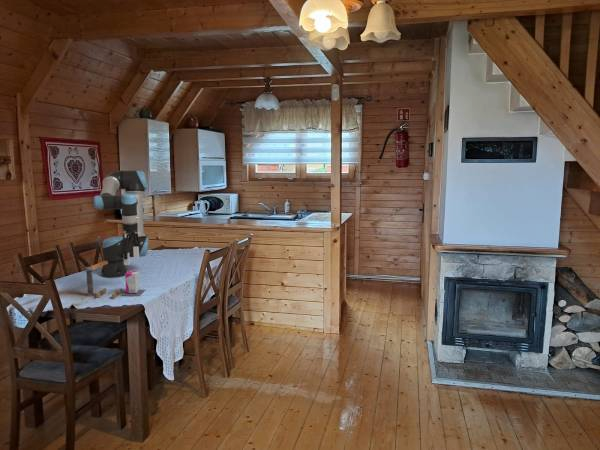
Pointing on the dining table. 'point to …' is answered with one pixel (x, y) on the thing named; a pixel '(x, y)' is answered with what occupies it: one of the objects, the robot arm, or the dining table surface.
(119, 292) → the socket
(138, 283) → the supplement box
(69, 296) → the dining table surface
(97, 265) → the clip
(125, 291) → the pad
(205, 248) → the dining table surface
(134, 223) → the robot arm
